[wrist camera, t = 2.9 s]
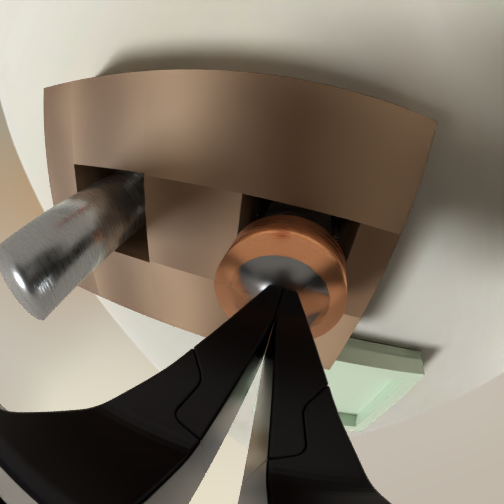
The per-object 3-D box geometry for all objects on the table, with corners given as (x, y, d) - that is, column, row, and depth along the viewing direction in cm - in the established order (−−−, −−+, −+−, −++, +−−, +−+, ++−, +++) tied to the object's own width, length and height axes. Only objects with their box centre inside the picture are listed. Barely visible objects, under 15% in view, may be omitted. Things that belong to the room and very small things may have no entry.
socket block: (406, 113, 9) (437, 121, 6) (333, 322, 16) (329, 369, 13) (91, 80, 11) (43, 88, 8) (104, 255, 18) (74, 284, 15)
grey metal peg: (174, 162, 13) (24, 260, 5) (174, 215, 14) (57, 332, 7) (128, 156, 13) (-13, 236, 6) (130, 205, 15) (14, 301, 8)
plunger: (353, 194, 11) (367, 260, 7) (329, 270, 13) (322, 353, 9) (260, 171, 11) (218, 222, 7) (249, 250, 14) (212, 323, 9)
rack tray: (420, 351, 15) (424, 374, 14) (361, 413, 21) (360, 431, 19) (281, 321, 17) (275, 346, 15) (258, 393, 22) (252, 411, 21)
